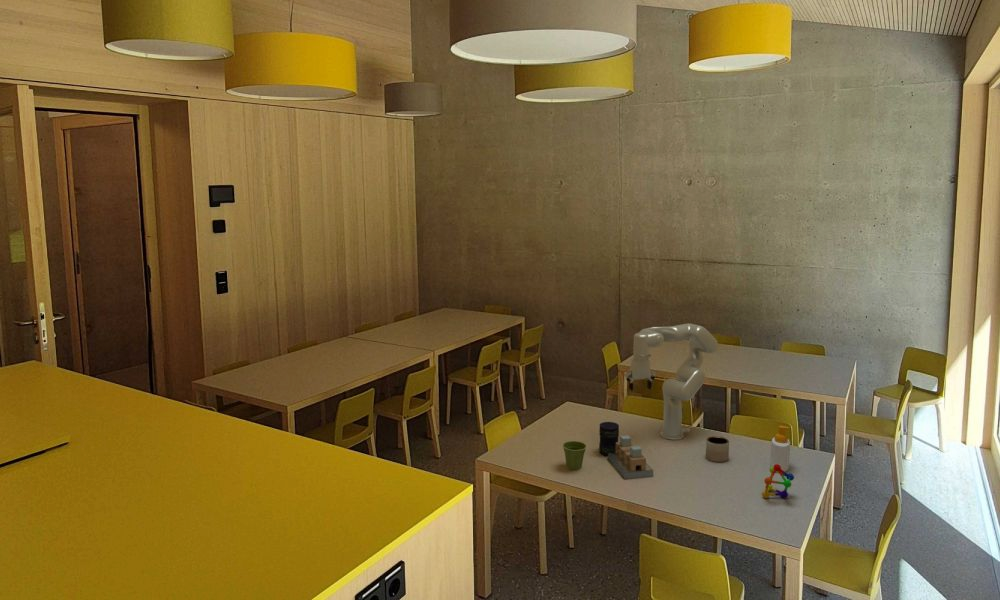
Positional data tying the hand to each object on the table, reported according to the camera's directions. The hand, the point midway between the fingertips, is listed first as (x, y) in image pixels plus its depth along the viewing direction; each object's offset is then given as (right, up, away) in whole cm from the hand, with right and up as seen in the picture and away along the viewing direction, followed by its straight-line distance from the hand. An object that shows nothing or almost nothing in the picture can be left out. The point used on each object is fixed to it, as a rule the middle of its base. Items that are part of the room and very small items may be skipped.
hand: (640, 389), depth 356 cm
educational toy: (+49, -40, -54) cm, 83 cm away
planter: (+35, -33, -13) cm, 50 cm away
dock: (-10, -35, -22) cm, 43 cm away
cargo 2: (-8, -28, -30) cm, 42 cm away
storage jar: (-17, -32, -5) cm, 37 cm away
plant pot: (-36, -35, -21) cm, 55 cm away
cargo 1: (-11, -25, -17) cm, 32 cm away
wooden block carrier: (-9, -32, -23) cm, 40 cm away
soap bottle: (+62, -34, -25) cm, 75 cm away
